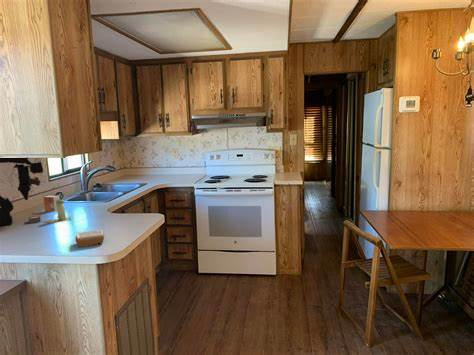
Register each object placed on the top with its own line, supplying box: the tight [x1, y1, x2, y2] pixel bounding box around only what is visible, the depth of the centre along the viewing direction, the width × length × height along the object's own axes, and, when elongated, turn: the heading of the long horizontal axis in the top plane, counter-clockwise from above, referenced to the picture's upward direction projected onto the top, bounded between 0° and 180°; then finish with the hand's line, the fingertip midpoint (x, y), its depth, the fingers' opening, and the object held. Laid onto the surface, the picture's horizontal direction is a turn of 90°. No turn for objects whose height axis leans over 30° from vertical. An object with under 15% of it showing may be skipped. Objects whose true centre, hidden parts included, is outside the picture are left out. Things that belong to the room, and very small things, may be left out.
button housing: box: [28, 215, 42, 224], centre depth 211 cm, size 6×6×4 cm
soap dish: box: [75, 229, 105, 248], centre depth 168 cm, size 12×10×5 cm
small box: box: [43, 195, 60, 213], centre depth 241 cm, size 8×6×10 cm
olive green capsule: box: [56, 199, 67, 220], centre depth 213 cm, size 4×4×12 cm
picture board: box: [41, 215, 72, 224], centre depth 216 cm, size 18×17×1 cm
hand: (26, 200), depth 214 cm, fingers closed
